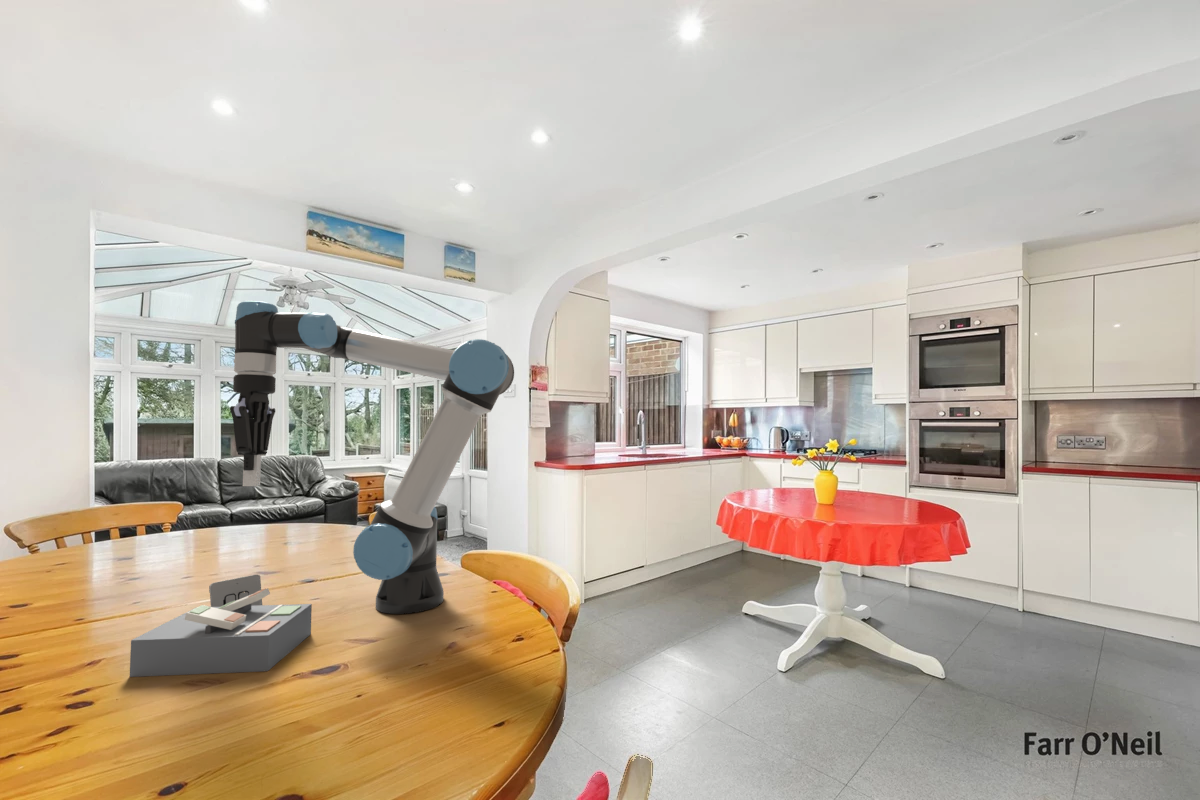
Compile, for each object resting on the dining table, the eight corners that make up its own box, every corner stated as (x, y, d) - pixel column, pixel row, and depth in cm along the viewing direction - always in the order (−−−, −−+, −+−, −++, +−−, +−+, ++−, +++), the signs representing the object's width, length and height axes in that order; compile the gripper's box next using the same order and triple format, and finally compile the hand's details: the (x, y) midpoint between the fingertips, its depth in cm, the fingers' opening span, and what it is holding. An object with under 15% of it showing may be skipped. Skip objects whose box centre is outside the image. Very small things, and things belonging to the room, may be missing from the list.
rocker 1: (244, 621, 95) (246, 614, 95) (231, 630, 91) (233, 622, 91) (199, 611, 94) (202, 604, 94) (184, 619, 90) (186, 611, 90)
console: (310, 634, 105) (311, 597, 105) (267, 671, 89) (269, 628, 90) (194, 638, 103) (196, 601, 103) (129, 676, 87) (131, 633, 88)
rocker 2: (270, 593, 103) (267, 587, 103) (258, 600, 99) (256, 593, 99) (229, 609, 102) (227, 603, 102) (216, 617, 98) (214, 610, 98)
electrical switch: (212, 630, 107) (212, 584, 108) (204, 627, 110) (205, 582, 111) (263, 618, 114) (263, 574, 115) (255, 615, 118) (255, 572, 119)
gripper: (253, 377, 118) (250, 482, 116) (216, 371, 105) (212, 489, 103) (288, 377, 118) (285, 482, 117) (256, 371, 105) (252, 489, 104)
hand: (251, 485), depth 110 cm, fingers closed
